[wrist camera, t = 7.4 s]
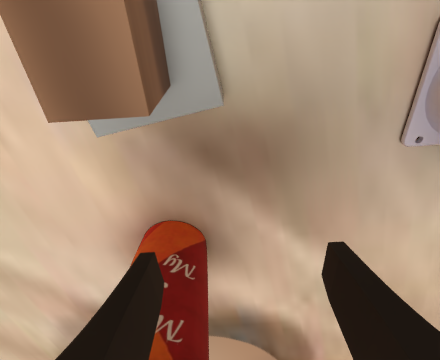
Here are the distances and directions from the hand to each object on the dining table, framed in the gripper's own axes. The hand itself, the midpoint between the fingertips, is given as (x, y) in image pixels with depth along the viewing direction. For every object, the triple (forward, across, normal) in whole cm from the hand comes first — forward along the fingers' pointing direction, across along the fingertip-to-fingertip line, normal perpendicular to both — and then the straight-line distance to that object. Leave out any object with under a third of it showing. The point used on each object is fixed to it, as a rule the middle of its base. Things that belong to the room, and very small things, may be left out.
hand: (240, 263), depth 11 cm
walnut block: (+7, +5, -8) cm, 12 cm away
